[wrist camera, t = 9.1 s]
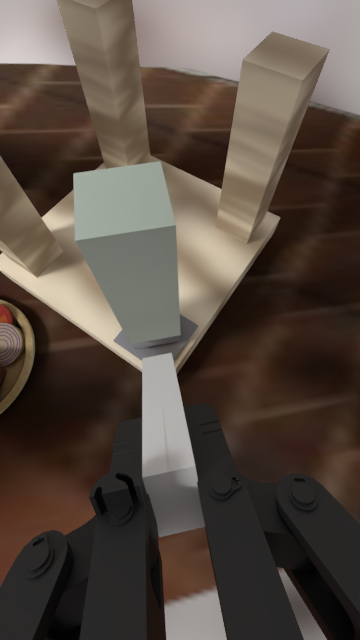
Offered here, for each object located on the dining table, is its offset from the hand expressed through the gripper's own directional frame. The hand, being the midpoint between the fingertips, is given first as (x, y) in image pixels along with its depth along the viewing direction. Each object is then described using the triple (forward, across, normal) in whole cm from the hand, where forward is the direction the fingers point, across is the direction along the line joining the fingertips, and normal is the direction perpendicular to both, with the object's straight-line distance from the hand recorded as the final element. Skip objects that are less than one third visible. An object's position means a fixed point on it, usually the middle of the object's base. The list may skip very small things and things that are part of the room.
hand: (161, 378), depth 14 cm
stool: (+17, 0, +4) cm, 18 cm away
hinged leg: (+8, 0, -1) cm, 8 cm away
